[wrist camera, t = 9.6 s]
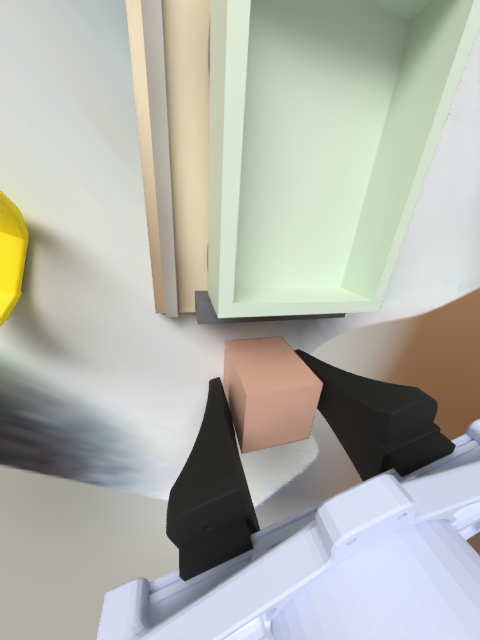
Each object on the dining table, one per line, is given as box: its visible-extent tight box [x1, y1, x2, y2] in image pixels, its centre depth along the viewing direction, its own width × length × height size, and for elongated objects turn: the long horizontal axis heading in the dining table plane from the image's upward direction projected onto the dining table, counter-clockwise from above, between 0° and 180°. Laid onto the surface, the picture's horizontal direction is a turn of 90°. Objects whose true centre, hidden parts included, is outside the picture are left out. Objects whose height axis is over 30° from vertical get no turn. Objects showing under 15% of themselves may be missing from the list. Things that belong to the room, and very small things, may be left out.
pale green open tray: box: [207, 0, 480, 318], centre depth 8 cm, size 7×10×4 cm
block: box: [224, 336, 323, 453], centre depth 13 cm, size 4×4×5 cm
